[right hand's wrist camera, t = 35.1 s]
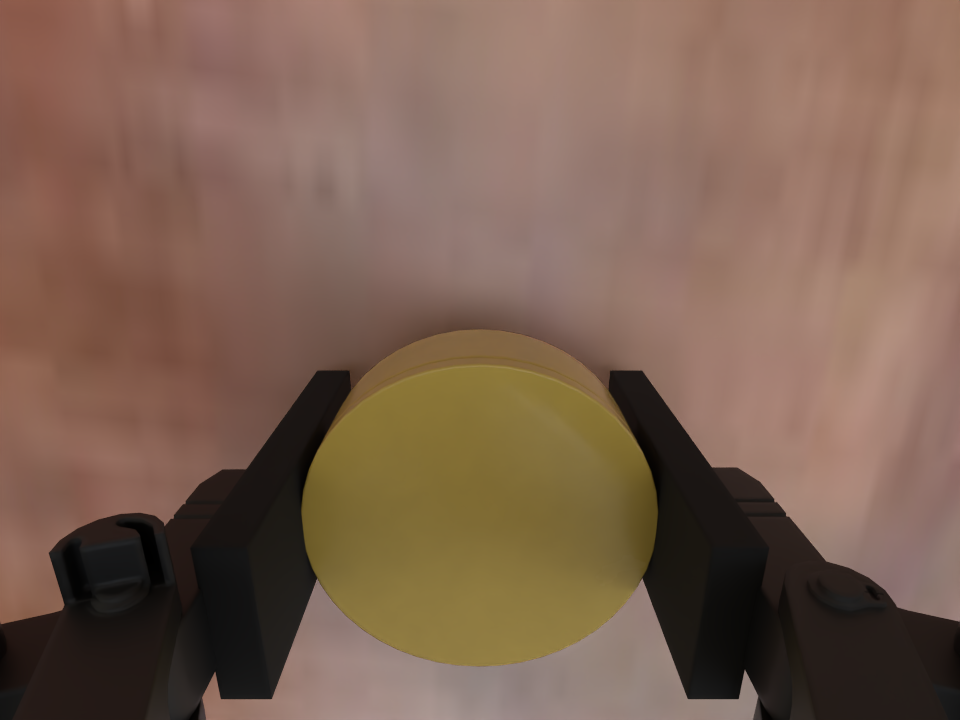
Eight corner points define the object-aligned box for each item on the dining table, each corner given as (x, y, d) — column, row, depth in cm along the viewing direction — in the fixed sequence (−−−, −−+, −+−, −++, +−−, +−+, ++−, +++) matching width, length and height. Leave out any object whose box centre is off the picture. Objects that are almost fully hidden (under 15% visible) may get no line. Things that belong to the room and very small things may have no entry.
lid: (321, 578, 13) (294, 649, 11) (335, 307, 11) (305, 340, 9) (597, 608, 13) (616, 682, 11) (664, 350, 11) (700, 390, 9)
